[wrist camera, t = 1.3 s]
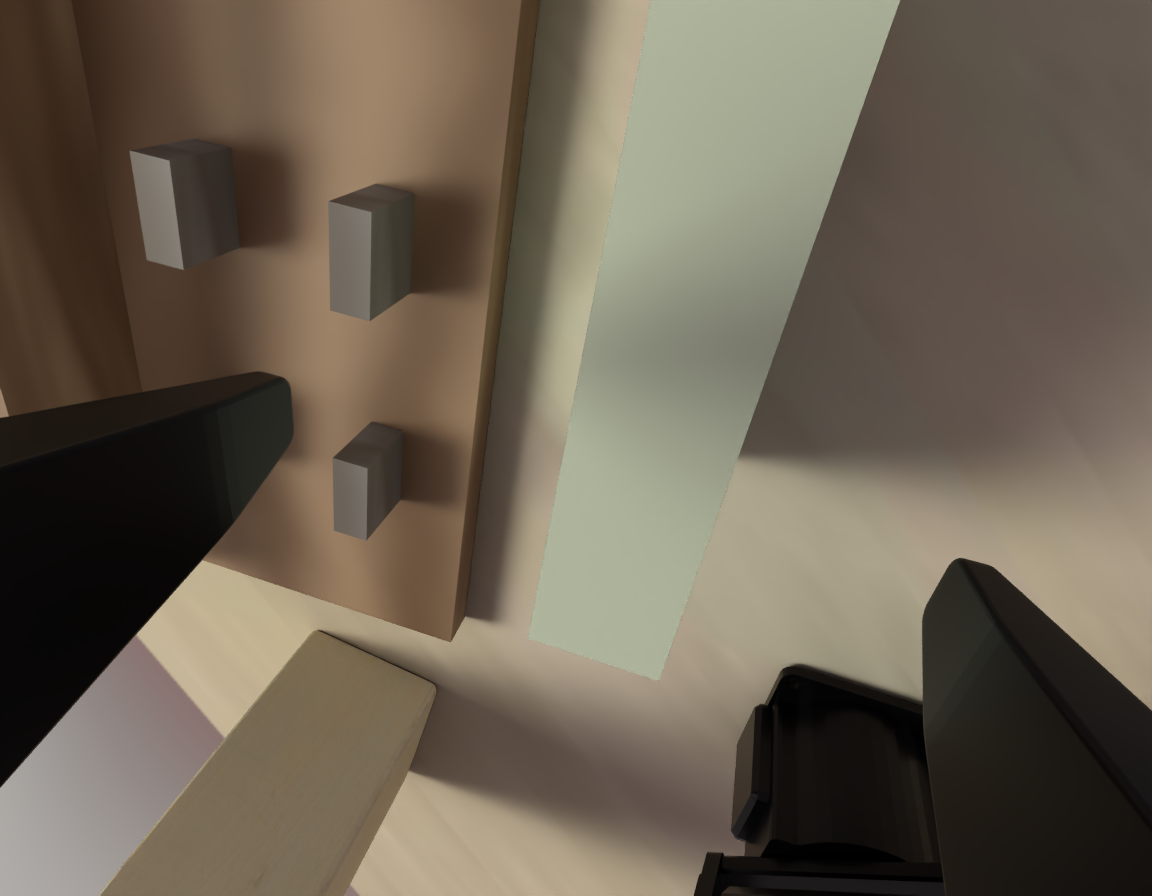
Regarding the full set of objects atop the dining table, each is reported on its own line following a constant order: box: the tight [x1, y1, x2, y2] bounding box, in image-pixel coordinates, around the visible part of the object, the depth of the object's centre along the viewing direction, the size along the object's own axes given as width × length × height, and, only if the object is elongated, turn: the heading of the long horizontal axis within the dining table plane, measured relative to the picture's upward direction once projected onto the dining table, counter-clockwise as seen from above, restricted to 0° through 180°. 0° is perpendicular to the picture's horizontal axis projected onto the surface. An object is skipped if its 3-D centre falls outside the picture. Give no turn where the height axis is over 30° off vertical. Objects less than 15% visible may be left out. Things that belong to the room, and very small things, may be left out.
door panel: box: [527, 0, 900, 681], centre depth 16 cm, size 3×14×10 cm, turn 170°
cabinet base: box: [0, 0, 540, 642], centre depth 22 cm, size 16×24×6 cm, turn 170°
